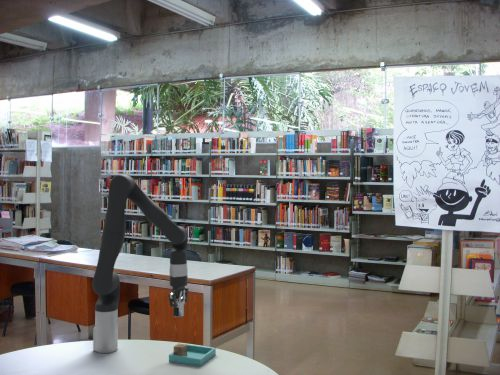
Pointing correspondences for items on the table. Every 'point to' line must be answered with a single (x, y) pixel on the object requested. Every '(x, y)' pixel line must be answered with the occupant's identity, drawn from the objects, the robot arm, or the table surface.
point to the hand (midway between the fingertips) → (178, 314)
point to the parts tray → (194, 355)
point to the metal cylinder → (181, 309)
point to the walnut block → (180, 349)
